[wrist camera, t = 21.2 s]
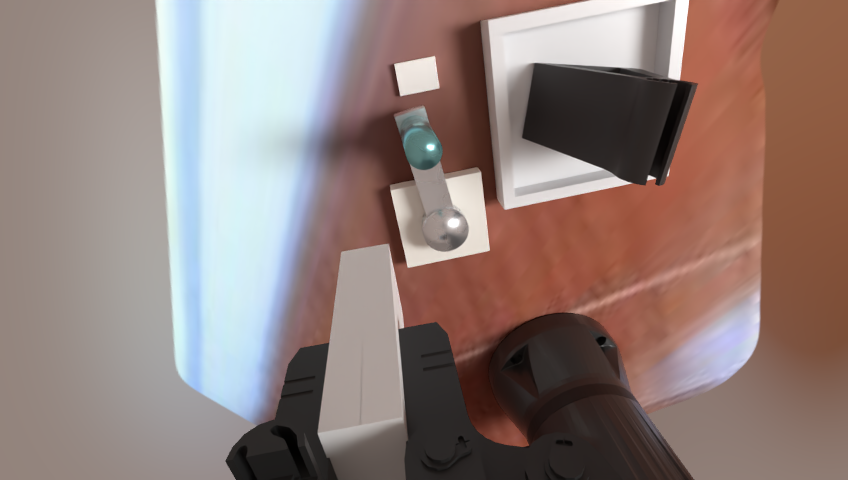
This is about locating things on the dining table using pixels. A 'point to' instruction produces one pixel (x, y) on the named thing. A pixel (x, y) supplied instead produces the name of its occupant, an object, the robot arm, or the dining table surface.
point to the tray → (575, 45)
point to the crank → (431, 182)
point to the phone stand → (609, 117)
